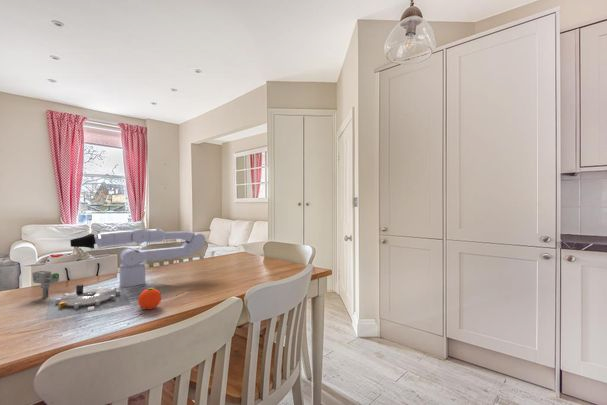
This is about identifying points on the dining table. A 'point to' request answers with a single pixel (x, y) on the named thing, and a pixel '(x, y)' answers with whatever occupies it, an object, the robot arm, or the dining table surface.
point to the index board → (67, 311)
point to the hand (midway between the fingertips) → (70, 243)
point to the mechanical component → (45, 280)
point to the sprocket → (87, 297)
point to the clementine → (149, 298)
